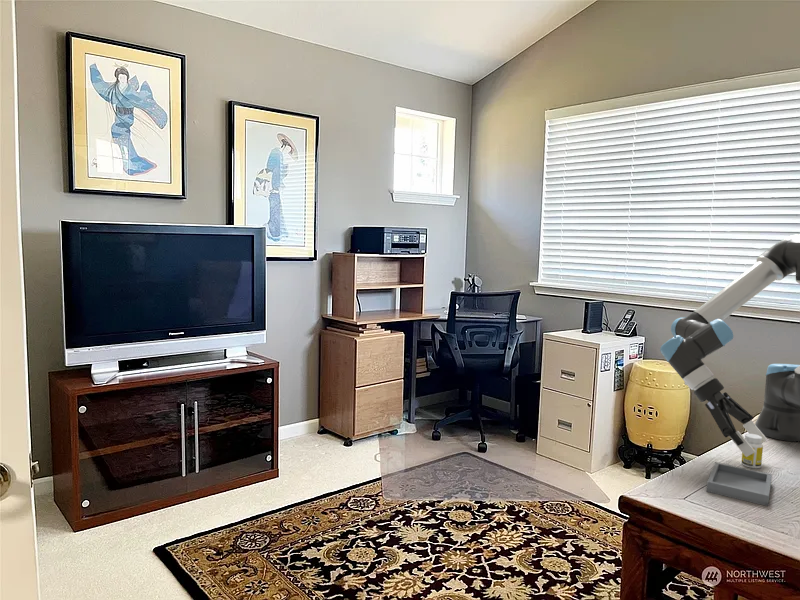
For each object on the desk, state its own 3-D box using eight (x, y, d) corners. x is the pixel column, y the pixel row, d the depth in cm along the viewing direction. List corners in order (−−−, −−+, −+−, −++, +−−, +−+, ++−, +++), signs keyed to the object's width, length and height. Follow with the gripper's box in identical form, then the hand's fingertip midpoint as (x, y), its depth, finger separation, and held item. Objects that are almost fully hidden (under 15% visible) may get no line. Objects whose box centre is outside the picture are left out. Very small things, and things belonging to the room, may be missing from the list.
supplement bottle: (758, 463, 167) (761, 434, 166) (763, 469, 162) (766, 439, 161) (738, 461, 168) (741, 432, 167) (743, 467, 164) (746, 437, 163)
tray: (714, 470, 160) (715, 462, 160) (770, 483, 153) (772, 474, 153) (706, 491, 147) (707, 481, 147) (767, 506, 140) (768, 495, 140)
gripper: (706, 384, 183) (756, 444, 175) (678, 398, 165) (733, 466, 157) (727, 370, 179) (779, 431, 170) (700, 384, 161) (757, 452, 152)
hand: (757, 448), depth 164 cm, fingers open, 13 cm apart
